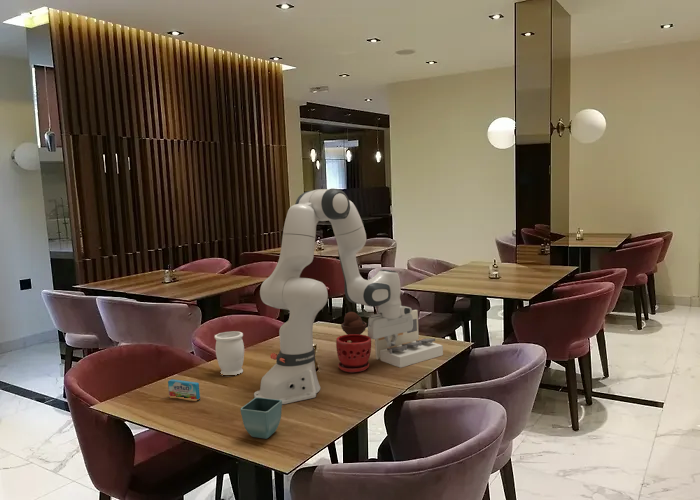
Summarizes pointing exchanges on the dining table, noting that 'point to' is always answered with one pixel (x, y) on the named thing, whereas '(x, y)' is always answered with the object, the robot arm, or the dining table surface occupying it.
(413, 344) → the switch middle
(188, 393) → the blue printed box
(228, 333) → the jar
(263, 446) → the dining table surface
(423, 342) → the switch far
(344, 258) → the robot arm
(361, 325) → the ice cream bowl
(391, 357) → the switch unit
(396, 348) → the switch near
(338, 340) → the plant pot
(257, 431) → the flower pot
